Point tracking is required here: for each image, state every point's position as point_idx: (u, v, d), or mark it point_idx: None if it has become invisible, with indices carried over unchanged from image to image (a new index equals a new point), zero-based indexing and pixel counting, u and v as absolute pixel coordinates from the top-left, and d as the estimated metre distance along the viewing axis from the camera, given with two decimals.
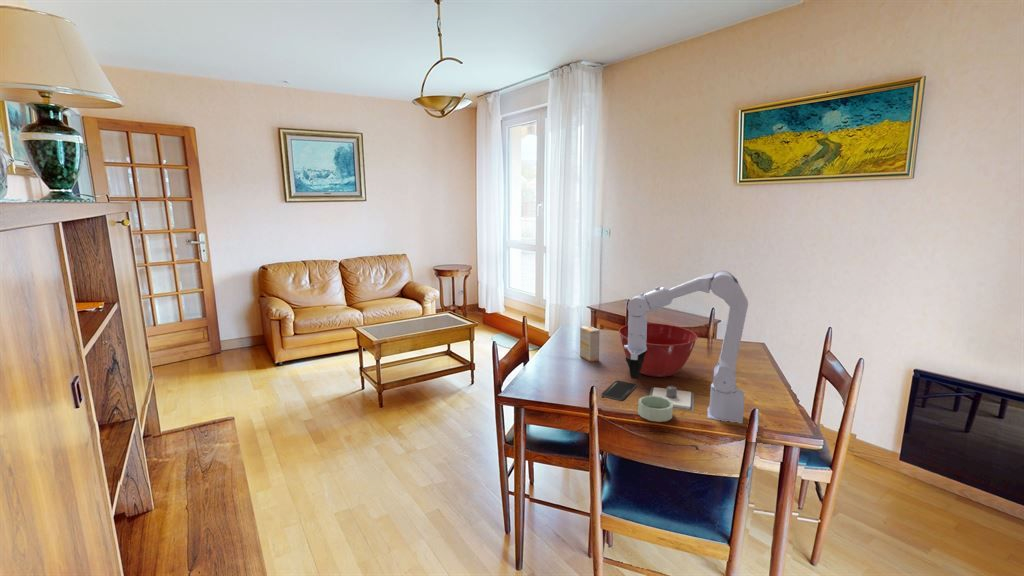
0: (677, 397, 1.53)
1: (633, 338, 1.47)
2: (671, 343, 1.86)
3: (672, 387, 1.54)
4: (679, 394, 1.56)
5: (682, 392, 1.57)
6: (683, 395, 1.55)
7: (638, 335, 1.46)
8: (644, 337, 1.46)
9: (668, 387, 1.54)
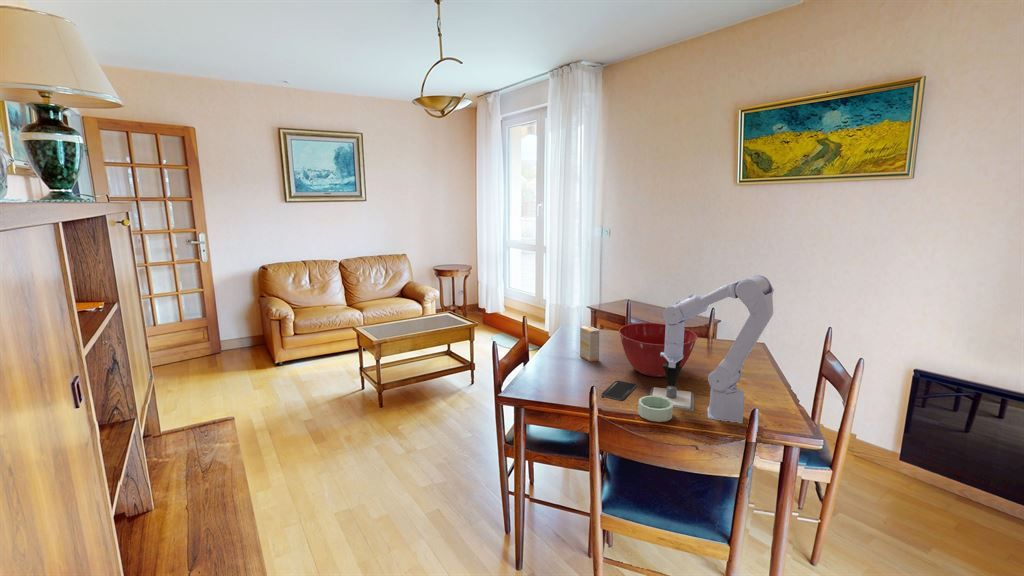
0: (677, 397, 1.53)
1: (670, 346, 1.49)
2: None
3: (672, 387, 1.54)
4: (679, 394, 1.56)
5: (682, 392, 1.57)
6: (683, 395, 1.55)
7: (672, 343, 1.48)
8: (681, 345, 1.48)
9: (668, 387, 1.54)
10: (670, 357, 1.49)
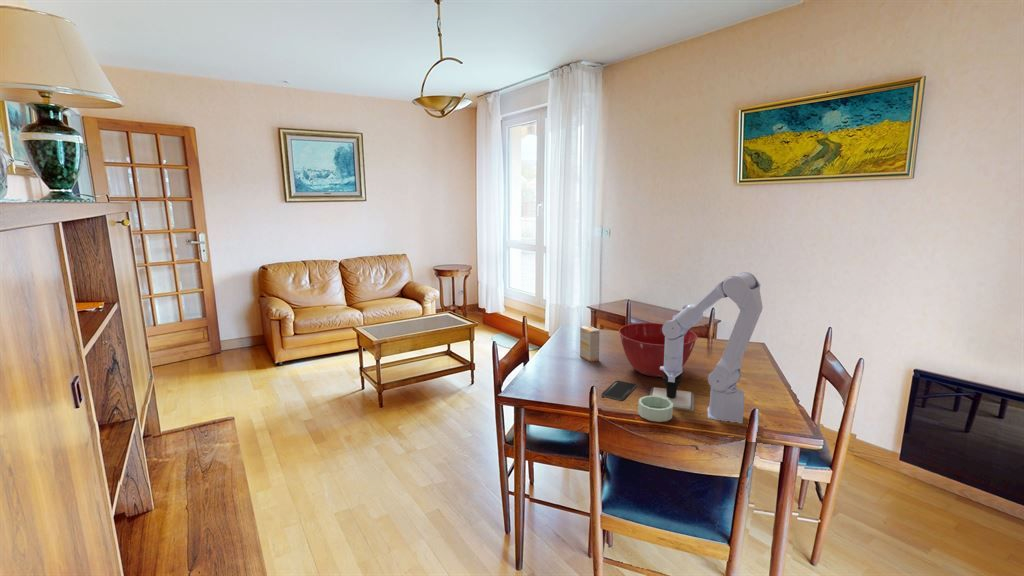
0: (677, 397, 1.53)
1: (669, 361, 1.50)
2: None
3: None
4: (679, 394, 1.56)
5: (682, 392, 1.57)
6: (683, 395, 1.55)
7: (671, 357, 1.49)
8: (680, 359, 1.49)
9: None
10: (669, 371, 1.50)
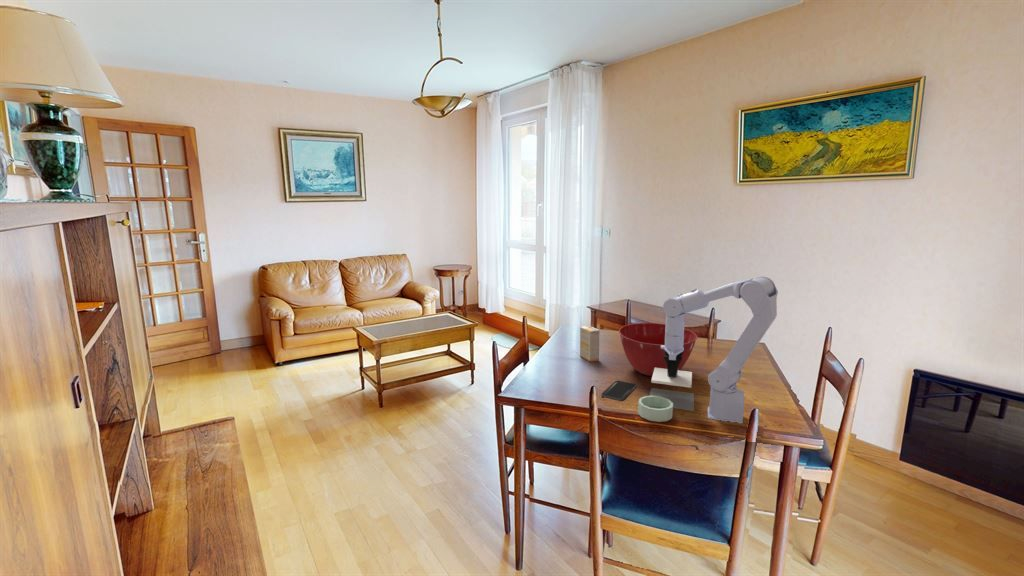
0: (678, 376, 1.52)
1: (670, 339, 1.48)
2: None
3: None
4: (680, 373, 1.54)
5: (683, 372, 1.56)
6: (684, 375, 1.53)
7: (672, 335, 1.47)
8: (682, 338, 1.48)
9: None
10: (670, 350, 1.48)
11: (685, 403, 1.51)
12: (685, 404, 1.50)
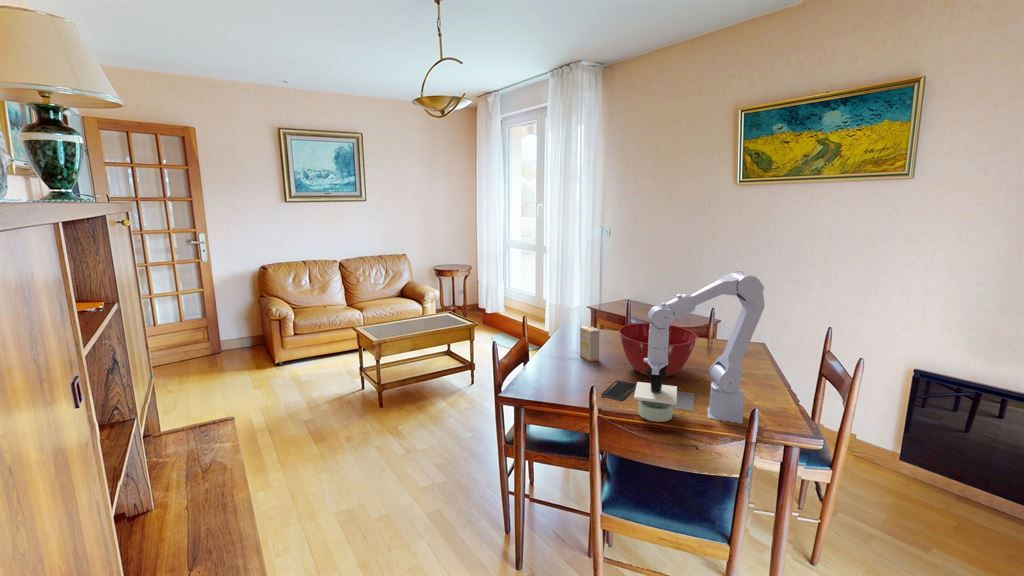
0: (662, 392, 1.42)
1: (654, 352, 1.38)
2: (671, 343, 1.86)
3: None
4: (664, 388, 1.44)
5: (667, 387, 1.46)
6: (668, 390, 1.43)
7: (663, 348, 1.37)
8: (666, 350, 1.38)
9: None
10: (654, 363, 1.38)
11: (685, 403, 1.51)
12: (685, 404, 1.50)
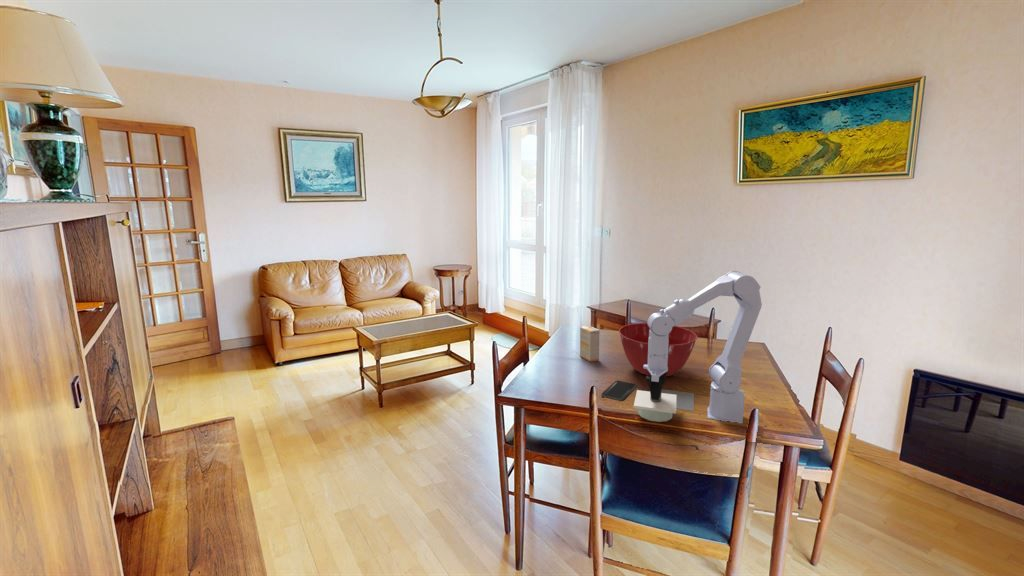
0: (662, 401, 1.42)
1: (653, 358, 1.38)
2: (671, 343, 1.86)
3: None
4: (664, 397, 1.45)
5: (667, 395, 1.46)
6: (668, 398, 1.44)
7: (662, 355, 1.37)
8: (665, 357, 1.38)
9: None
10: (653, 370, 1.39)
11: (685, 403, 1.51)
12: (685, 404, 1.50)
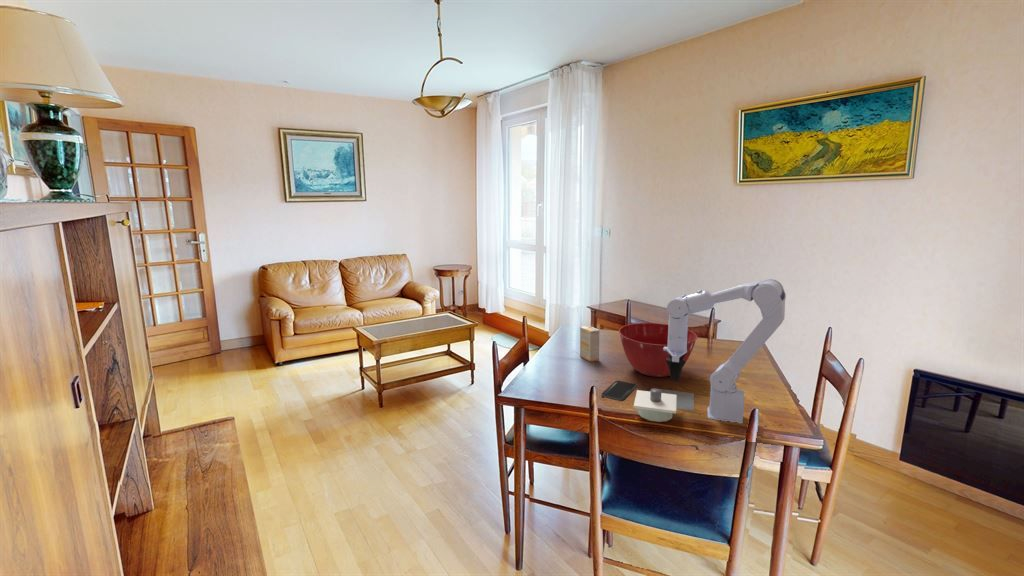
0: (662, 401, 1.42)
1: (673, 340, 1.45)
2: None
3: (656, 390, 1.43)
4: (664, 397, 1.45)
5: (667, 395, 1.46)
6: (668, 398, 1.44)
7: (677, 337, 1.44)
8: (685, 339, 1.45)
9: (652, 390, 1.43)
10: (673, 351, 1.45)
11: (685, 403, 1.51)
12: (685, 404, 1.50)
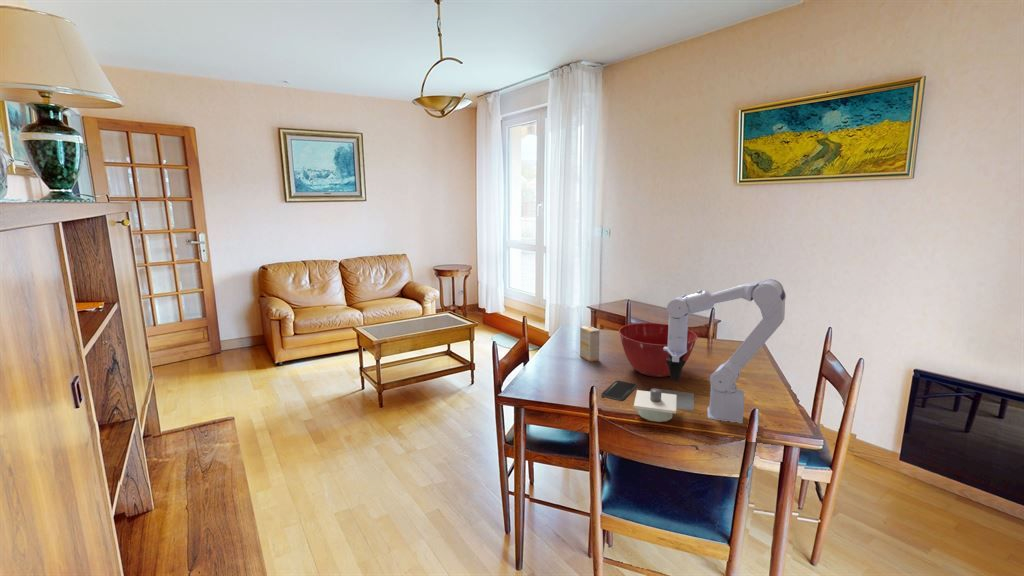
0: (662, 401, 1.42)
1: (673, 340, 1.45)
2: None
3: (656, 390, 1.43)
4: (664, 397, 1.45)
5: (667, 395, 1.46)
6: (668, 398, 1.44)
7: (677, 337, 1.44)
8: (685, 339, 1.45)
9: (652, 390, 1.43)
10: (673, 351, 1.45)
11: (685, 403, 1.51)
12: (685, 404, 1.50)
